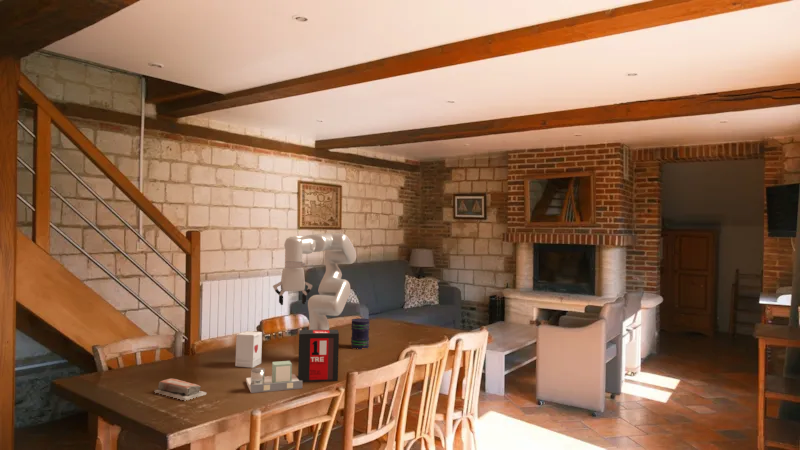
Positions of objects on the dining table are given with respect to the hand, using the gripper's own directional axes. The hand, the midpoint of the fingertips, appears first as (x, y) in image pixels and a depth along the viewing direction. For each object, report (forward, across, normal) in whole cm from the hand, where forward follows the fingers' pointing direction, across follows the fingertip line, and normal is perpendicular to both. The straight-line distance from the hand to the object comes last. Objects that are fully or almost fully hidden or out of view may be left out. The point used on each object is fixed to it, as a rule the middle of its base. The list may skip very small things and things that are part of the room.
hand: (292, 304), depth 236 cm
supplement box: (+31, +16, -19) cm, 39 cm away
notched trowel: (+31, +45, +17) cm, 57 cm away
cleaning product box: (+31, -9, +13) cm, 34 cm away
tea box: (+29, +7, +19) cm, 36 cm away
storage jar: (+31, -45, -40) cm, 67 cm away
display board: (+30, +10, +16) cm, 36 cm away
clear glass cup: (+29, +17, +20) cm, 39 cm away
